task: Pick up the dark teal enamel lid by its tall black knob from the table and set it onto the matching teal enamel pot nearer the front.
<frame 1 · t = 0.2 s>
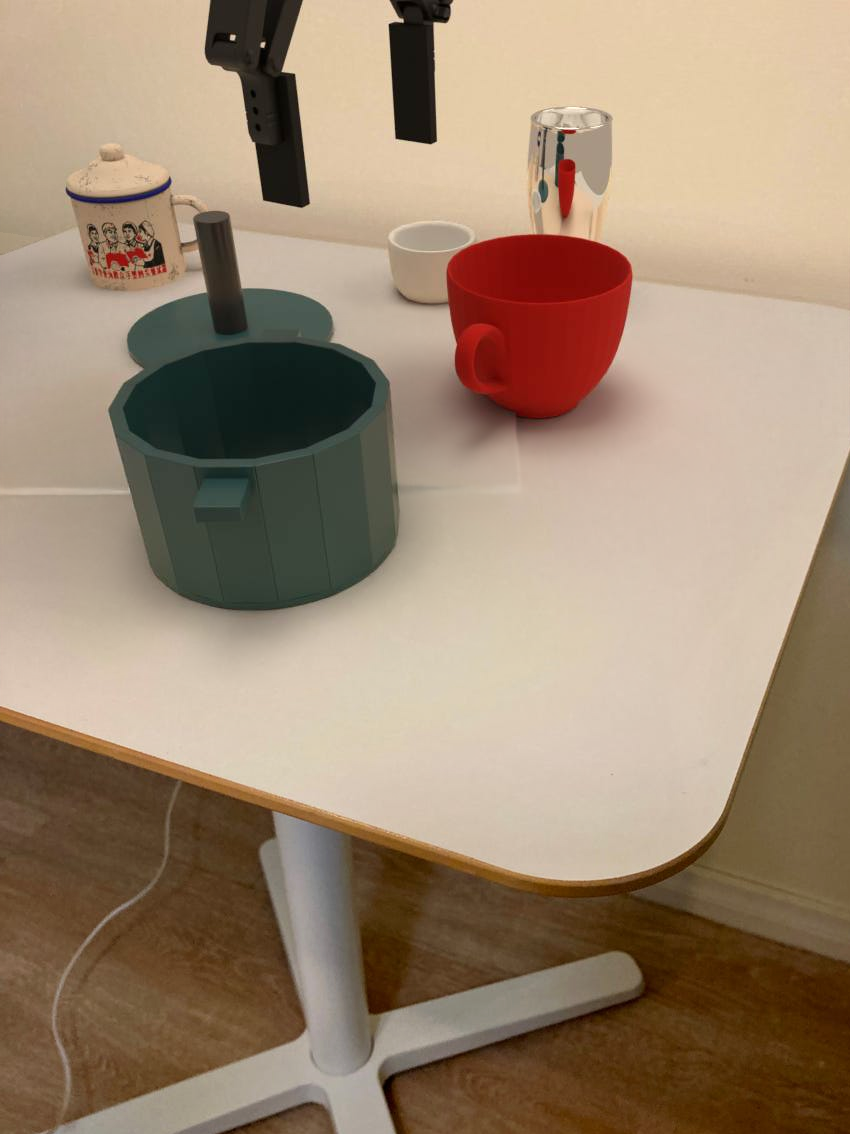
hand: (356, 170, 62), 18 cm above the table, tool pointing down, fingers open, 13 cm apart
lid: (232, 334, 86), point 1 cm above the table
teacup: (430, 294, 94), on the table
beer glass: (563, 302, 93), on the table
pot: (274, 532, 65), on the table
ceramic cup: (523, 410, 77), on the table
teacup with lid: (156, 279, 98), on the table
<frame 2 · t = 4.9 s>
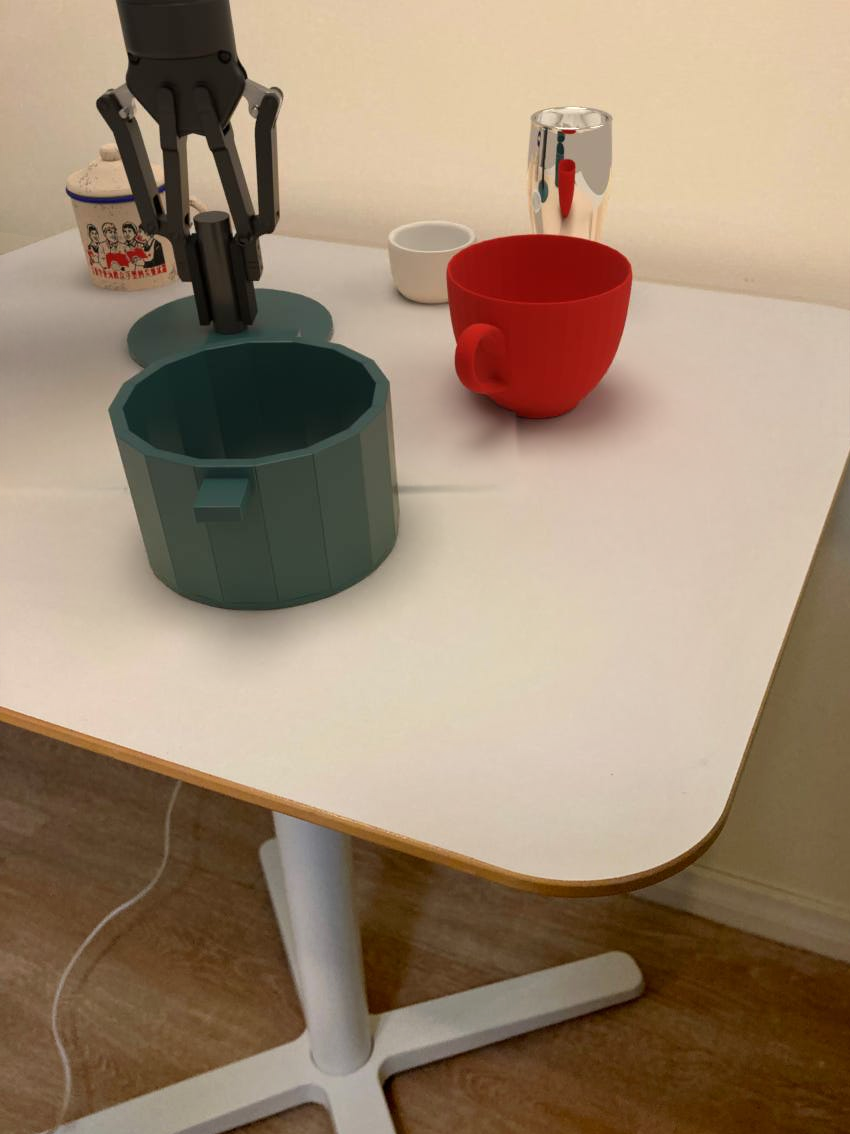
hand: (229, 318, 85), 2 cm above the table, tool pointing down, fingers closed on lid, 3 cm apart
lid: (232, 334, 86), point 1 cm above the table, touching gripper
everything else where it was.
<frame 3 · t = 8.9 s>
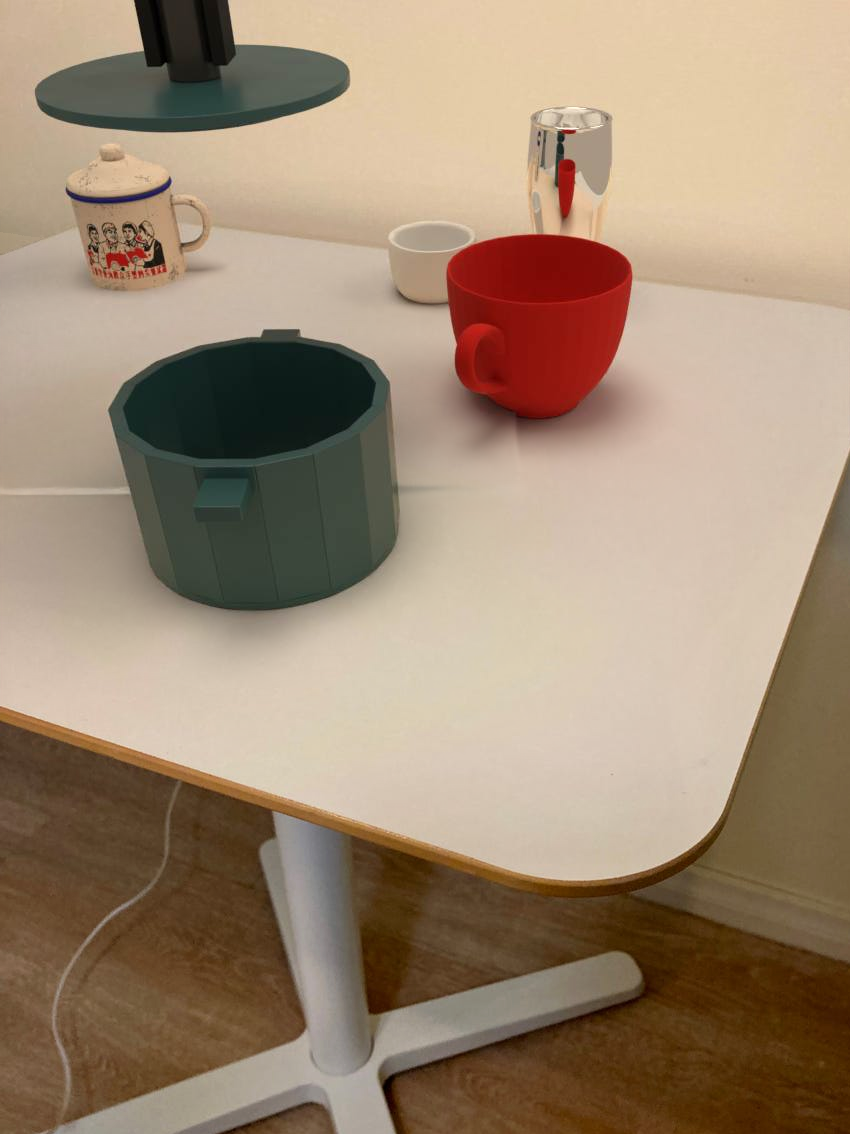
hand: (192, 59, 56), 25 cm above the table, tool pointing down, fingers closed on lid, 3 cm apart
lid: (197, 89, 57), point 23 cm above the table, touching gripper
everything else where it was.
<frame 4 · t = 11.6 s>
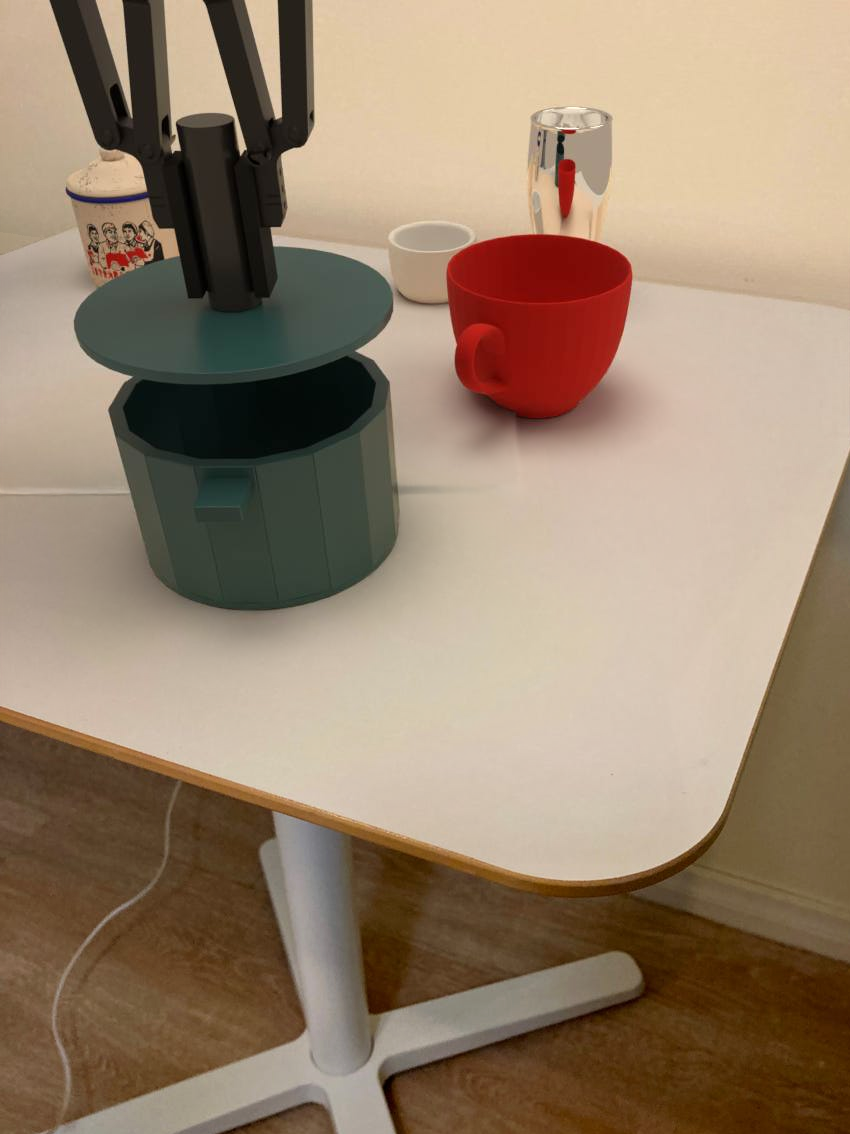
hand: (233, 287, 55), 16 cm above the table, tool pointing down, fingers closed on lid, 3 cm apart
lid: (238, 313, 56), point 14 cm above the table, touching gripper
everything else where it was.
when the fingers open (11 cm above the table, at t = 13.1 s): lid stays where it is, resting on pot.
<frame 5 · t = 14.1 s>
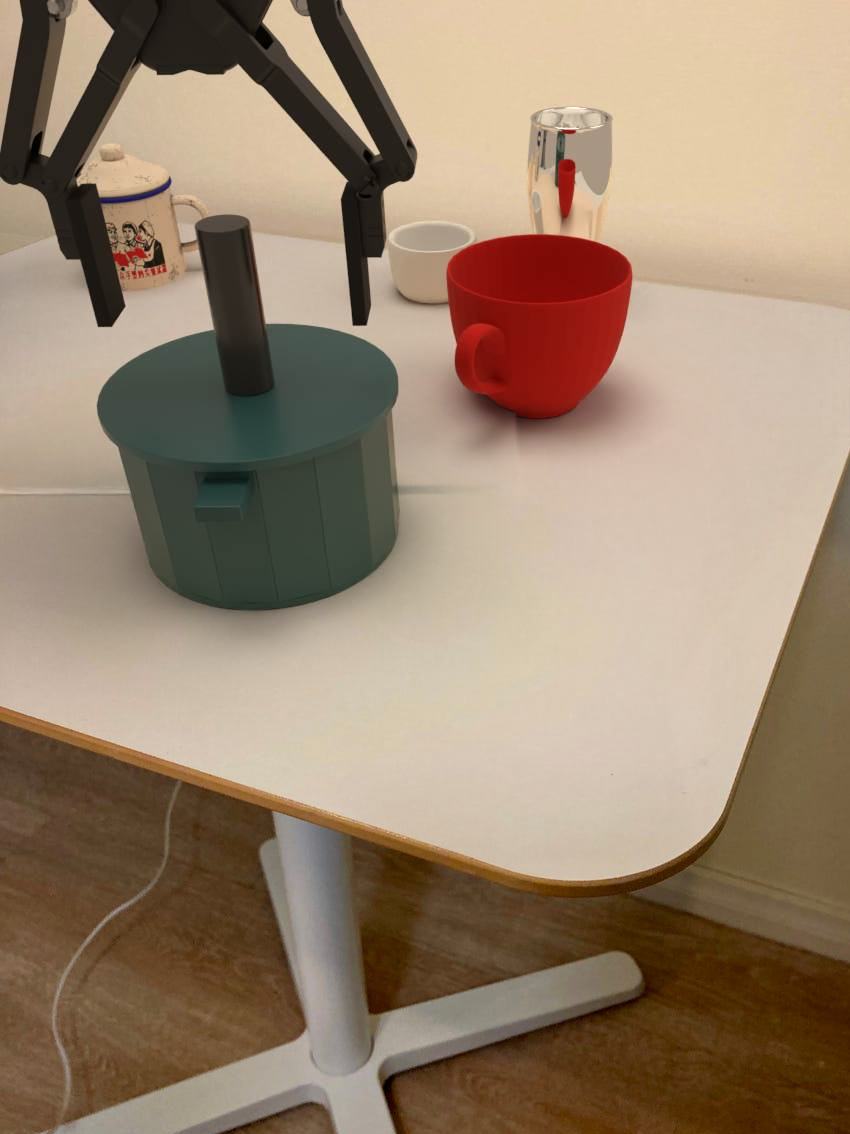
hand: (237, 316, 56), 14 cm above the table, tool pointing down, fingers open, 13 cm apart
lid: (251, 394, 59), point 9 cm above the table, touching pot
everything else where it was.
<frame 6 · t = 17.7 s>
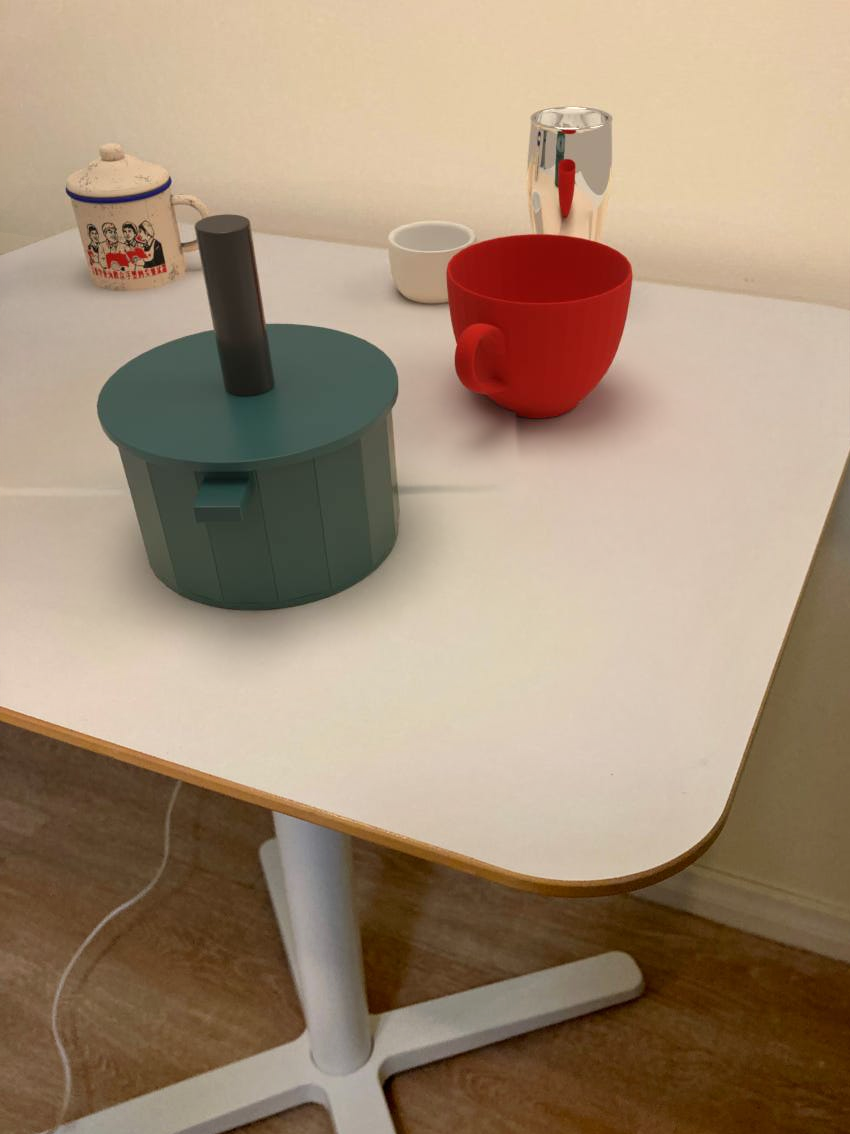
nothing on the table moved.
at the end: lid 0.0 cm off-centre on the pot, point 9.5 cm above the pot's base; lid tilted 0° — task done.
